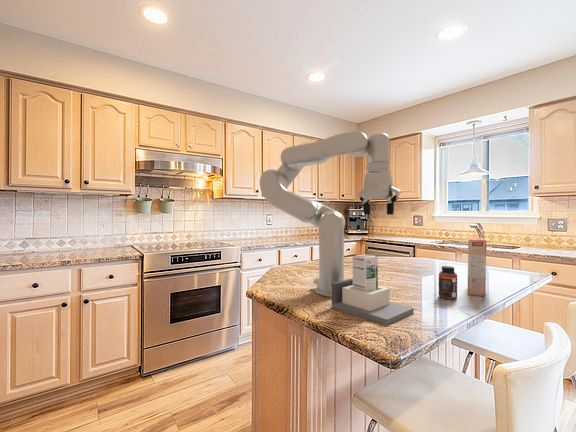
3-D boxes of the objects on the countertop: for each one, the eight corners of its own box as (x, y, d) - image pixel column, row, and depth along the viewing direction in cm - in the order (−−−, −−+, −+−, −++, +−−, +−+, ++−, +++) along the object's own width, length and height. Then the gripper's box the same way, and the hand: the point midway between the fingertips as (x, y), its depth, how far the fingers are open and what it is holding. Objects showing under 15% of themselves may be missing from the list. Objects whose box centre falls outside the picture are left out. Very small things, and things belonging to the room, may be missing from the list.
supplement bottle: (459, 300, 104) (460, 268, 104) (441, 299, 105) (441, 268, 105) (453, 296, 110) (454, 265, 110) (436, 295, 111) (436, 265, 111)
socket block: (342, 303, 96) (342, 287, 96) (361, 296, 103) (361, 282, 103) (370, 311, 88) (370, 294, 88) (389, 304, 95) (389, 288, 95)
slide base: (331, 307, 97) (331, 283, 97) (359, 298, 106) (359, 276, 106) (387, 325, 82) (387, 296, 81) (413, 313, 91) (413, 287, 91)
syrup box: (365, 304, 92) (365, 257, 92) (352, 299, 97) (352, 255, 97) (378, 301, 95) (378, 255, 95) (364, 296, 100) (364, 253, 100)
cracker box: (486, 297, 108) (487, 240, 108) (467, 295, 111) (467, 239, 111) (485, 289, 120) (485, 237, 120) (467, 287, 123) (468, 236, 123)
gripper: (353, 169, 114) (352, 214, 114) (394, 164, 101) (394, 214, 101) (364, 171, 119) (364, 214, 119) (405, 166, 106) (405, 214, 106)
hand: (378, 214), depth 110 cm, fingers open, 9 cm apart
